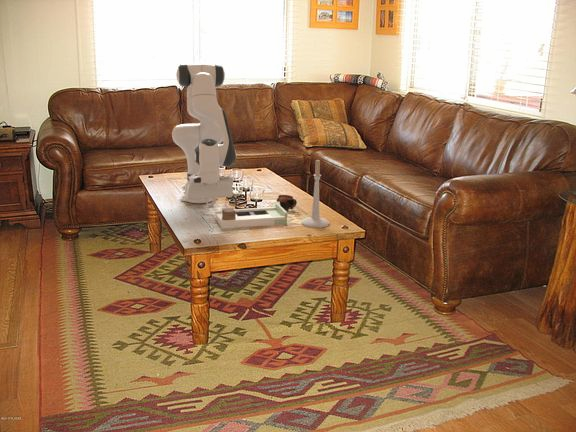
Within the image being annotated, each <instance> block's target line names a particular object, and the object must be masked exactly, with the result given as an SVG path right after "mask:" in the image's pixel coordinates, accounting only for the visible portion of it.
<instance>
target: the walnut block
mask: <svg viewBox="0 0 576 432" xmlns="http://www.w3.org/2000/svg"><path fill="white" fill-rule="evenodd" d="M221 210H222V219H223V220H236V211H235V210H236V209H234V208H233V207H230V208H229V207H228V208H222V209H221Z"/></svg>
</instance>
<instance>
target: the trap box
mask: <svg viewBox="0 0 576 432" xmlns="http://www.w3.org/2000/svg"><path fill="white" fill-rule="evenodd" d="M274 204H275V205H274V206H272V207H271V206H270V207H256V208H238V209H234V210H235V211H236V220H223V219H222V209H221V210H214V211H215V212H214V214H215V216H214V218H215V220H216V222H217V223H218V224H219V226H220V228H221V230H223V229H235V228H236V229H237V228H251V227H263V226H264V227H265V226H267V227H268V226H279V225H287V224H288V211H285V210H284V209H283V208H282V207H281V206H280V203H278V202H275V203H274Z"/></svg>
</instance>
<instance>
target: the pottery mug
mask: <svg viewBox="0 0 576 432" xmlns="http://www.w3.org/2000/svg"><path fill="white" fill-rule="evenodd" d="M278 202H279V205H280V206H281V207H282V208H283V209H284V210H285V211H286V212H289V209H290V210H293V209H294V208H295V207H296V206H297V204H298V202H297V199H295V198H294V197H293V196H292V195H289V194H280V195H278V197H277V199H276V203H278Z"/></svg>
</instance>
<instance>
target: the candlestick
mask: <svg viewBox="0 0 576 432" xmlns="http://www.w3.org/2000/svg"><path fill="white" fill-rule="evenodd" d="M314 164H315V166H314V167H315V168H314V169H315V171H314V174H313V177H314V178H313V179H314V188H313V197H312V209H311V210H312V211H311V216H308V217H305V218H303V219H302V220H301V222H300V224H301V225H302V226H304V227H308V228H311V229H312V228H313V229H314V228H315V229H321V228H322V227H323V228H326V226H327V227H328V226H329V225H330V221H328V220H327V218H324V217H322V216H321V215H320V179H321V176H322V174H320V170H321V169H320V168H321V160H319V159H316V160H315V163H314ZM320 216H321V217H320Z"/></svg>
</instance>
